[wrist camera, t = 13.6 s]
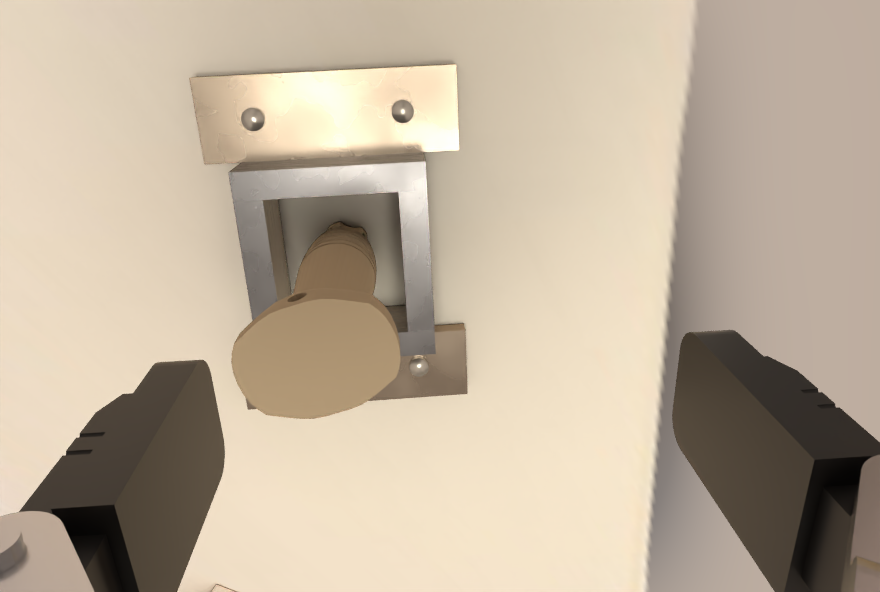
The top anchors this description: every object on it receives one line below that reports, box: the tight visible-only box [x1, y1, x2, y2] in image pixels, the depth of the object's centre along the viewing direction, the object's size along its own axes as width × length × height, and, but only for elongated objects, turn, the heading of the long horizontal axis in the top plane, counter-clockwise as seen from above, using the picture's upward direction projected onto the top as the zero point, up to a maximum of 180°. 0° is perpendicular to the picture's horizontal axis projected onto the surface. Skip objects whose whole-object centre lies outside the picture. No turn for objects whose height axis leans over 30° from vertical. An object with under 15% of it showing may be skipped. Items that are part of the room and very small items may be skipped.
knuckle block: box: [189, 64, 467, 409], centre depth 37 cm, size 20×14×4 cm
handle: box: [231, 222, 400, 419], centre depth 32 cm, size 5×6×15 cm
